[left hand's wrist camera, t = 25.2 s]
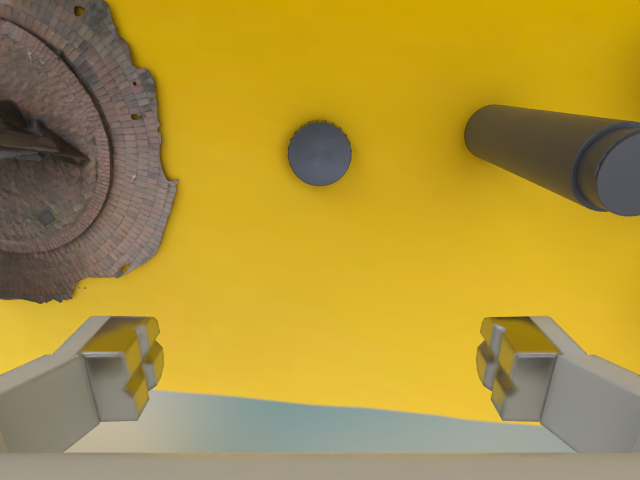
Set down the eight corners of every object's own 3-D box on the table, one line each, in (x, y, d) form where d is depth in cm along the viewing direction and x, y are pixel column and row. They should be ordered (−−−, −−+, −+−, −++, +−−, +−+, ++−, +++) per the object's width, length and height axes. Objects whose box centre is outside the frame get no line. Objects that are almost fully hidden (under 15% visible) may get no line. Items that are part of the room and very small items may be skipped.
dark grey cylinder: (523, 107, 37) (710, 129, 19) (509, 160, 38) (668, 226, 21) (470, 102, 37) (611, 119, 19) (459, 155, 38) (577, 217, 21)
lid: (281, 171, 39) (279, 175, 37) (299, 111, 37) (298, 112, 35) (338, 189, 39) (339, 194, 38) (358, 131, 37) (360, 133, 36)
